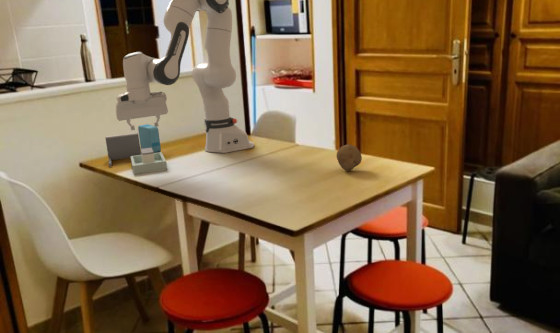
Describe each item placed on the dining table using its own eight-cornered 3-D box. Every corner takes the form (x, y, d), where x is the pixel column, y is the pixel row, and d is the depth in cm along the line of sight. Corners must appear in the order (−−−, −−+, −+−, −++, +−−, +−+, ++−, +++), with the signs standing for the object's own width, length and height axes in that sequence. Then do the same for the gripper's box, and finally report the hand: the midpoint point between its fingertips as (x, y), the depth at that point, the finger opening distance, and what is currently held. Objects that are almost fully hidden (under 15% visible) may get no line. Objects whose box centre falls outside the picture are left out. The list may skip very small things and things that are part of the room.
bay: (141, 155, 235) (137, 132, 232) (143, 162, 223) (140, 138, 220) (108, 159, 231) (105, 136, 228) (109, 167, 219) (105, 142, 216)
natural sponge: (353, 166, 197) (352, 140, 195) (366, 171, 189) (366, 144, 187) (332, 170, 194) (331, 144, 191) (345, 175, 186) (344, 148, 183)
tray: (162, 160, 225) (161, 152, 224) (167, 169, 209) (166, 161, 208) (131, 164, 221) (130, 156, 220) (134, 174, 205) (132, 165, 204)
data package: (161, 152, 239) (158, 126, 236) (152, 154, 236) (149, 128, 233) (149, 148, 248) (146, 123, 245) (141, 150, 245) (137, 125, 242)
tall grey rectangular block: (153, 161, 220) (151, 147, 218) (155, 166, 211) (153, 152, 210) (142, 162, 218) (140, 148, 217) (144, 167, 210) (142, 153, 208)
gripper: (164, 89, 213) (169, 122, 217) (112, 96, 207) (119, 130, 211) (166, 91, 207) (171, 125, 211) (113, 98, 201) (119, 133, 205)
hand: (144, 128), depth 211 cm, fingers open, 8 cm apart
